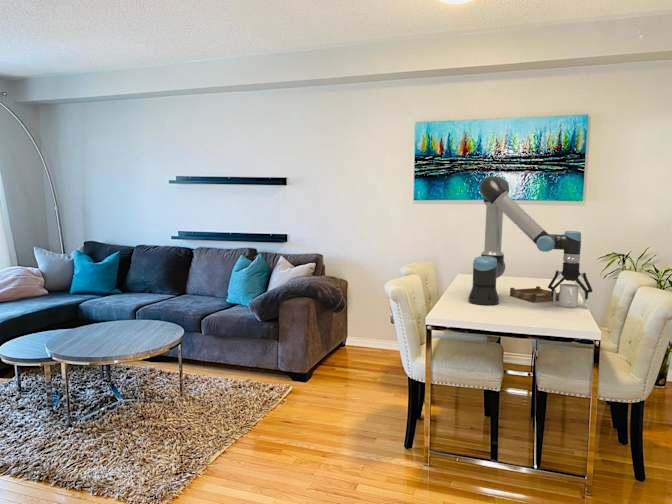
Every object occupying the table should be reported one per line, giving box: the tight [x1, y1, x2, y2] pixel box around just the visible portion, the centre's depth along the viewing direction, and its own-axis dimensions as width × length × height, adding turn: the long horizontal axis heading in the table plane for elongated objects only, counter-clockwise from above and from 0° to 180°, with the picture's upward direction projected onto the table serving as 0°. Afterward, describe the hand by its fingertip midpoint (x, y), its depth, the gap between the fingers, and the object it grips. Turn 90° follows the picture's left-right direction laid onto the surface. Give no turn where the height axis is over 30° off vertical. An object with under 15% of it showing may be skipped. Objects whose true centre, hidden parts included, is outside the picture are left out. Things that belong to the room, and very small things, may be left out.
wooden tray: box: [509, 285, 560, 304], centre depth 280 cm, size 19×19×4 cm
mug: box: [558, 283, 580, 309], centre depth 258 cm, size 9×12×11 cm
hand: (568, 304), depth 259 cm, fingers open, 13 cm apart
